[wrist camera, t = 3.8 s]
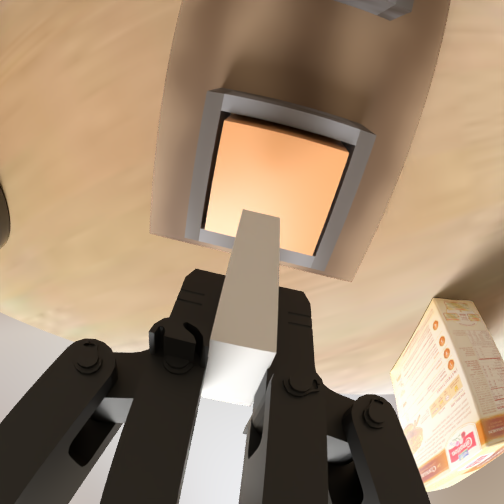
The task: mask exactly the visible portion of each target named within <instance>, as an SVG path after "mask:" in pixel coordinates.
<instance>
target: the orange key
mask: <svg viewBox="0 0 504 504" xmlns="http://www.w3.org/2000/svg"><path fill="white" fill-rule="evenodd" d="M348 155H349V152H348V150H347V149H346V148H345V146H344V145H343V144H342V143H341V141H338V140H335V139H332V138H328V137H325V136H322V135H318V134H315V133H311V132H308V131H304V130H301V129H297V128H293V127H289V126H285V125H282V124H278V123H274V122H269V121H265V120H261V119H257V118H252V117H247V116H243V115H238V114H232V115H231V116H229V117H228V118H227V119H225V120H224V124H223V129H222V134H221V139H220V144H219V149H218V154H217V160H216V165H215V171H214V176H213V182H212V188H211V194H210V199H209V205H208V211H207V218H206V224H205V230H208V231H212V232H216V233H220V234H224V235H228V236H233V237H236V233H237V229H238V226H239V222H240V218H241V214H242V210H243V209H245V210H249V211H253V212H258V213H262V214H266V215H270V216H274V217H279V218H280V248H282V249H286V250H290V251H294V252H298V253H302V254H306V255H310V256H312V255H313V252H314V250H315V247H316V245H317V242H318V239H319V237H320V234H321V231H322V229H323V226H324V223H325V221H326V218H327V215H328V212H329V210H330V207H331V204H332V201H333V199H334V196H335V193H336V190H337V187H338V184H339V182H340V179H341V176H342V173H343V170H344V167H345V164H346V161H347V158H348Z"/></svg>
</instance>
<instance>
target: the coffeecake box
mask: <svg viewBox="0 0 504 504" xmlns="http://www.w3.org/2000/svg"><path fill="white" fill-rule="evenodd" d="M390 375H391V380H392V384H393V389H394V394H395V399H396V404H397V410H398V415H399V421H400V424H401V427H402V429H403V431H404V434H405V436H406V439H407V441H408V444H409V446H410V449H411V452H412V454H413V457H414V459H415V462H416V465H417V467H418V470H419V473H420V475H421V478H422V481H423V483H424V486H425V489H426V492H430V491H434V490H440V489H444V488H447V487H450V486H452V485H454V484H456V483H457V482H459V481H461V480H463V479H464V478H466V477H467V476H469V475H471V474H472V473H474V472H475V471H477V470H479V469H480V468H482V467H483V466H485V465H486V464H488V463H489V462H491V461H492V460H494V459H495V458H497V457H498V456H499V455H501V454H502V453H504V361H503V359H502V357H501V355H500V353H499V351H498V349H497V347H496V344H495V342H494V341H493V339H492V337H491V335H490V333H489V331H488V329H487V327H486V325H485V323H484V321H483V319H482V317H481V316H480V314H479V312H478V310H477V309H476V307H475V305H474V303H473V301H469V300H450V299H442V298H433V299H432V301H431V303H430V305H429V307H428V309H427V310H426V312H425V314H424V316H423V318H422V320H421V322H420V324H419V325H418V327H417V329H416V331H415V332H414V334H413V336H412V338H411V339H410V341H409V343H408V345H407V346H406V348H405V350H404V351H403V353H402V355H401V356H400V358H399V359H398V361H397V363H396V364H395V366H394V367H393V369H392V370H391V372H390Z"/></svg>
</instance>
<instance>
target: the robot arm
mask: <svg viewBox="0 0 504 504" xmlns="http://www.w3.org/2000/svg"><path fill="white" fill-rule="evenodd" d="M9 231H10V222H9V214H8V209H7V205H6V201H5V198H4V195H3V192H2V190H1V188H0V249H1V248H2V247H3V246H4V245H5V244H6V242H7V240H8V237H9ZM279 255H280V218H279V217H274V216H270V215H266V214H262V213H258V212H253V211H249V210H245V209H243V210H242V214H241V218H240V222H239V226H238V229H237V233H236V237H235V241H234V245H233V249H232V253H231V257H230V261H229V264H228V268H227V272H226V276H225V275H221V274H216V273H212V272H208V271H204V270H199V269H195V270H194V271H193V272H191V273H190V274H189V275H188V276H186V277H185V280H184V282H183V285H182V287H181V291H180V292H179V295H178V297H177V301H176V302H175V305H174V307H173V310H172V312H171V315H170V317H169V318H163V319H162V320H160V321H158V322H157V323H155V324H154V325H153V326H152V328H151V329H150V331H149V347H150V349H148V350H145V351H142V352H135V353H116V352H112V349H111V348H110V347H109V346H107V345H106V344H105V343H104V342H101V341H99V340H96V339H82V340H79V341H76V342H74V343H73V344H71V345H70V346H69V347H68V348H67V349H66V350H65V351H64V352H63V353H62V354H61V355H60V356H59V357H58V358H57V360H55V361H54V363H53V364H52V365H51V366H50V367H49V368H48V369H47V370H46V371H45V372H44V374H43V375H42V376H41V377H40V378H39V379H38V380H37V381H36V383H35V384H34V385H33V386H32V387H31V388H30V389H29V390H28V391H27V393H26V394H25V395H24V396H23V397H22V398H21V400H20V401H19V402H18V403H17V404H16V405H15V407H14V408H13V409H12V410H11V411H10V413H9V414H8V415H7V416H6V417H5V418H4V420H3V421H2V422H1V424H0V504H68V503H69V502H70V500H71V499H72V497H73V496H74V494H75V493H76V491H77V490H78V488H79V487H80V486H81V484H82V483H83V481H84V480H85V478H86V477H87V475H88V474H89V472H90V471H91V469H92V468H93V466H94V465H95V463H96V462H97V460H98V459H99V457H100V456H101V454H102V453H103V452H104V450H105V448H106V447H107V446H108V444H109V443H110V441H111V440H112V438H113V437H114V435H115V434H116V433H117V431H118V430H119V428H120V427H121V425H122V424H123V423H125V425H124V427H123V430H122V433H121V436H120V439H119V442H118V445H117V448H116V452H115V455H114V458H113V461H112V464H111V468H110V471H109V474H108V478H107V481H106V484H105V487H104V491H103V494H102V498H101V501H100V504H179V499H180V494H181V489H182V484H183V479H184V474H185V469H186V464H187V460H188V455H189V450H190V445H191V440H192V436H193V431H194V426H195V421H196V417H197V412H198V406H199V402H200V397H205V398H210V399H214V400H219V401H224V402H229V403H234V404H240V405H245V406H251V405H252V403H253V401H254V404H253V414H252V416H251V418H250V420H249V421H248V423H247V425H246V427H245V429H244V432H243V434H247V439H246V447H245V456H244V464H243V473H242V481H241V489H240V497H239V504H430V501H429V498H428V495H427V492H426V489H425V486H424V483H423V481H422V478H421V475H420V473H419V470H418V467H417V465H416V462H415V459H414V457H413V454H412V452H411V449H410V446H409V444H408V441H407V439H406V436H405V434H404V431H403V429H402V427H401V424H400V422H399V419H398V417H397V415H396V412H395V411H394V409H393V407H392V405H391V404H390V403H389V402H387V401H386V400H385V399H384V398H382V397H380V396H377V395H372V394H366V395H364V396H361V397H359V398H358V399H357V400H356V401H355V400H352V399H350V398H347V397H345V396H342V395H340V394H338V393H335V392H334V391H332V390H330V389H329V388H327V387H326V386H325V385H324V384H323V382H322V379H321V378H320V377H319V375H318V374H317V373H316V370H315V362H314V346H313V332H312V319H311V306H310V302H309V301H308V299H307V297H306V296H305V294H304V292H302V291H297V290H293V289H288V288H283V287H279Z"/></svg>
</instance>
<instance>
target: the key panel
mask: <svg viewBox="0 0 504 504" xmlns="http://www.w3.org/2000/svg"><path fill="white" fill-rule="evenodd" d="M449 5H450V0H182V3H181V7H180V12H179V16H178V20H177V24H176V29H175V33H174V38H173V43H172V47H171V52H170V58H169V63H168V68H167V74H166V80H165V86H164V92H163V98H162V105H161V112H160V119H159V127H158V135H157V143H156V153H155V162H154V173H153V185H152V199H151V215H150V234H154V235H158V236H162V237H166V238H170V239H174V240H178V241H182V242H186V243H190V244H194V245H199V246H203V247H207V248H211V249H215V250H219V251H223V252H227V253H232V249H233V245H234V241H235V237H233V236H228V235H224V234H220V233H216V232H212V231H208V230H205V224H206V218H207V211H208V205H209V199H210V194H211V188H212V182H213V176H214V171H215V165H216V160H217V154H218V149H219V144H220V139H221V134H222V129H223V124H224V120H225V119H227V118H228V117H229V116H231V115H232V114H238V115H243V116H247V117H252V118H257V119H261V120H265V121H269V122H274V123H278V124H282V125H285V126H289V127H293V128H297V129H301V130H304V131H308V132H311V133H315V134H318V135H322V136H325V137H328V138H332V139H335V140H338V141H341V143H342V144H343V145H344V146H345V148H346V149H347V150H348V152H349V155H348V158H347V161H346V164H345V167H344V170H343V173H342V176H341V179H340V182H339V184H338V187H337V190H336V193H335V196H334V199H333V201H332V204H331V207H330V210H329V212H328V215H327V218H326V221H325V223H324V226H323V229H322V231H321V234H320V237H319V239H318V242H317V245H316V247H315V250H314V252H313V255H312V256H310V255H306V254H302V253H298V252H294V251H290V250H286V249H282V248H280V255H279V265H281V266H285V267H289V268H294V269H298V270H302V271H306V272H310V273H315V274H319V275H323V276H327V277H331V278H336V279H340V280H344V281H348V282H352V280H353V278H354V276H355V274H356V272H357V270H358V268H359V266H360V264H361V262H362V260H363V258H364V256H365V254H366V252H367V250H368V248H369V245H370V243H371V241H372V239H373V237H374V235H375V232H376V230H377V228H378V226H379V223H380V221H381V219H382V217H383V214H384V212H385V210H386V207H387V205H388V203H389V200H390V198H391V195H392V193H393V190H394V188H395V186H396V183H397V181H398V178H399V175H400V173H401V170H402V168H403V165H404V162H405V160H406V157H407V154H408V152H409V149H410V146H411V143H412V141H413V138H414V135H415V132H416V129H417V126H418V123H419V120H420V117H421V114H422V111H423V108H424V105H425V102H426V98H427V95H428V92H429V88H430V85H431V81H432V78H433V74H434V71H435V67H436V63H437V59H438V55H439V51H440V47H441V43H442V39H443V35H444V30H445V25H446V21H447V16H448V11H449Z"/></svg>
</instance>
